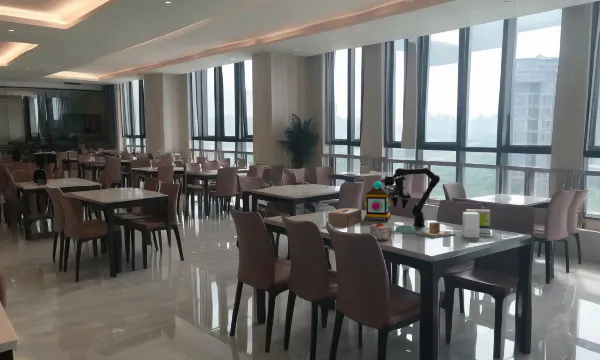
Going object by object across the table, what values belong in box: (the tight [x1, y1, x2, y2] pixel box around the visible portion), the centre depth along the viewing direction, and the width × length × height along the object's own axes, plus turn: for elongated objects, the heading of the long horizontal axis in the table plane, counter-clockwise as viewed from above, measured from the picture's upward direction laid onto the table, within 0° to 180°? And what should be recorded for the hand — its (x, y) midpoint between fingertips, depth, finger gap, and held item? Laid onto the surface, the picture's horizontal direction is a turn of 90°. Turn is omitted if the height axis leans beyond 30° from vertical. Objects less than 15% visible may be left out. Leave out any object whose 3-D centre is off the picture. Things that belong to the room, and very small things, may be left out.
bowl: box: [395, 225, 416, 234], centre depth 323 cm, size 12×12×3 cm
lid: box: [423, 221, 445, 236], centre depth 311 cm, size 13×13×7 cm
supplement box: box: [462, 211, 480, 239], centre depth 304 cm, size 9×9×15 cm
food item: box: [369, 223, 390, 241], centre depth 301 cm, size 14×8×10 cm, turn 24°
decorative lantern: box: [364, 180, 392, 223], centre depth 370 cm, size 20×20×30 cm
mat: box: [413, 230, 456, 239], centre depth 311 cm, size 20×16×1 cm
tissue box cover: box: [327, 207, 362, 229], centre depth 355 cm, size 26×14×10 cm, turn 148°
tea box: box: [465, 208, 491, 235], centre depth 317 cm, size 15×10×15 cm
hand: (399, 207), depth 344 cm, fingers open, 9 cm apart
